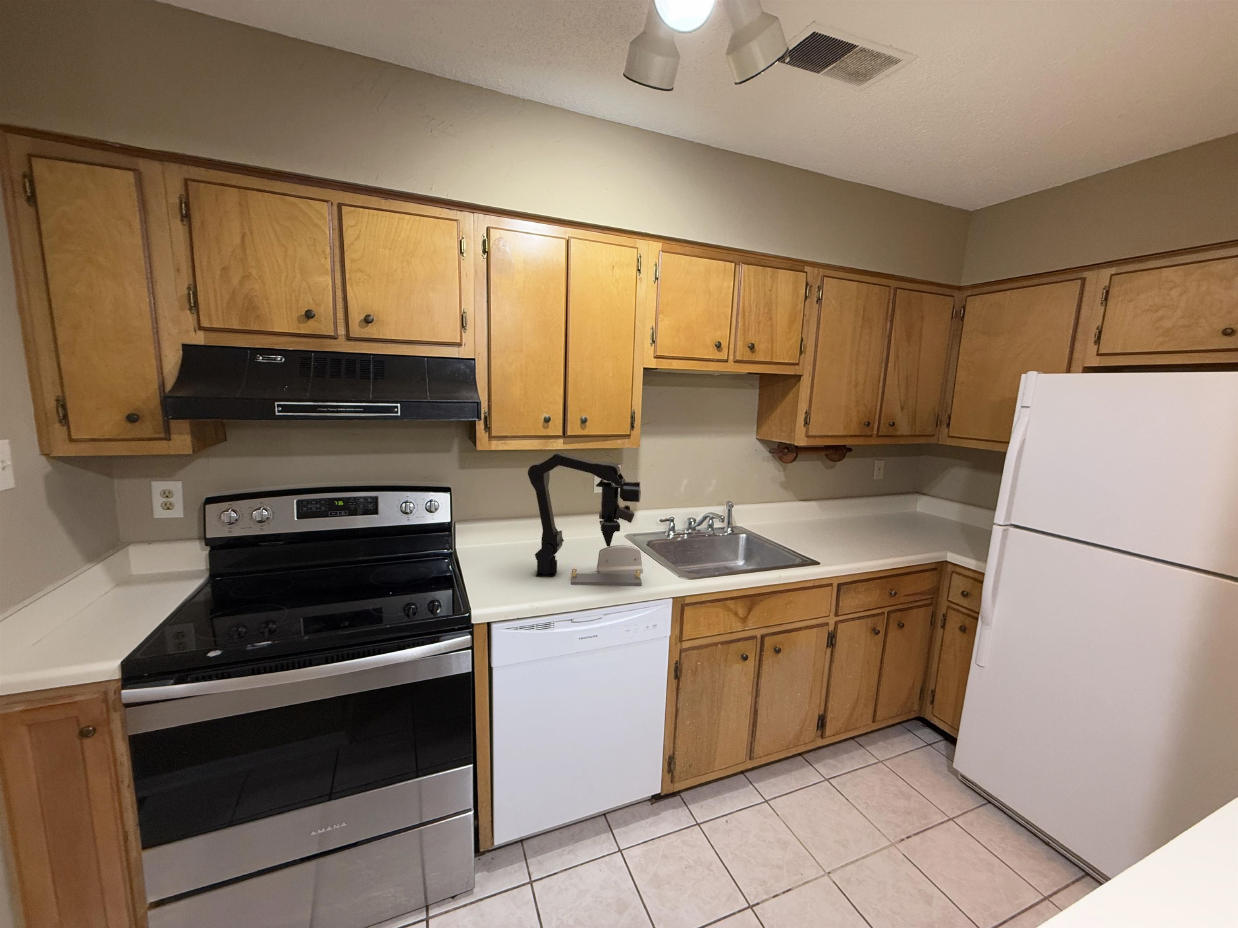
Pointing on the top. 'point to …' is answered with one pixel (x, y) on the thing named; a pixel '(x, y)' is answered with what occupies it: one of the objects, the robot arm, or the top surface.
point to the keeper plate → (606, 579)
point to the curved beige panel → (619, 560)
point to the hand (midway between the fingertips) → (608, 544)
